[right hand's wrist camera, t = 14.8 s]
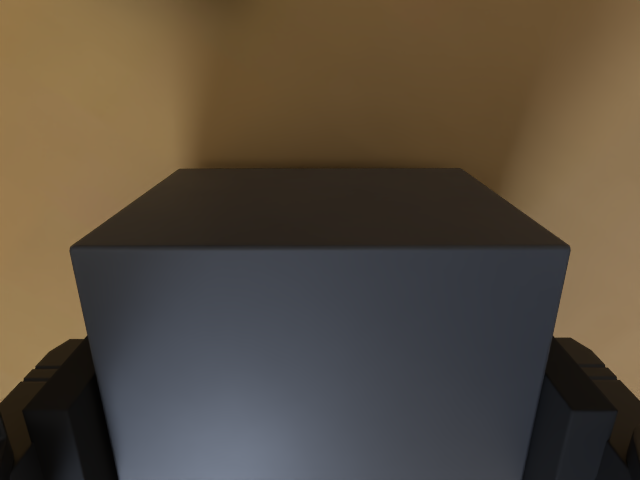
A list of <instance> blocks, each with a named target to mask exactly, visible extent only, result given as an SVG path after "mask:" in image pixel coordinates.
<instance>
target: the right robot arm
mask: <svg viewBox="0 0 640 480" xmlns="http://www.w3.org/2000/svg"><path fill="white" fill-rule="evenodd" d="M35 367H36V368H35V369H32V370H31V371H30V372H29V374H28V375H27V376H26V377H25V378H24V381H23V382H20V383H19V384H18V385H17V386H16V387H15V388H14V389H13V390H12V391H11V392H10V393H9V394H8V396H7V397H6V398H5V399H4V400H3V401H2V402H1V403H0V480H118V475H117V471H116V466H115V461H114V457H113V452H112V447H111V442H110V438H109V433H108V428H107V424H106V419H105V414H104V410H103V405H102V400H101V396H100V391H99V386H98V382H97V377H96V372H95V368H94V363H93V358H92V354H91V349H90V344H89V340H88V335H87V336H86V338H85V339H69V340H68V341H66V342H64V343H63V344H61V345H59V346H58V347H56V348H55V349H53V350H51V351H50V352H49V353H48V354H47V355H46V356H45V357H44V358H43V359H42V360H41V361H40V362H39V363H38V364H37V365H36V366H35ZM522 480H640V401H639V400H638V398H637V397H636V396H635V395H634V394H633V393H632V392H631V391H630V390H629V389H628V388H627V387H626V386H625V385H624V384H623V383H622V382H621V381H620V380H617V377H616V376H615V375H614V374H613V372H612V371H611V370H610V369H609V368H605V364H604V363H603V362H602V361H601V360H600V359H599V358H598V357H597V356H596V355H595V354H594V353H593V352H592V351H591V350H590V349H588V348H587V347H585V346H583V345H582V344H580V343H578V342H577V341H575V340H573V339H572V338H554V336H552V341H551V346H550V351H549V355H548V360H547V365H546V370H545V374H544V379H543V384H542V389H541V394H540V398H539V403H538V408H537V413H536V417H535V422H534V427H533V432H532V436H531V441H530V446H529V451H528V455H527V460H526V465H525V470H524V474H523V479H522Z"/></svg>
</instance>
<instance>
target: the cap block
mask: <svg viewBox="0 0 640 480" xmlns="http://www.w3.org/2000/svg"><path fill="white" fill-rule="evenodd" d="M570 251H571V250H570V246H569V245H568V244H566V243H565V242H564V241H562V240H561V239H559V238H558V237H557V236H555V235H554V234H552V233H551V232H550V231H548V230H547V229H545V228H544V227H543V226H541V225H540V224H538V223H537V222H536V221H534V220H533V219H531V218H530V217H529V216H527V215H526V214H524V213H523V212H521V211H520V210H519V209H517V208H516V207H514V206H513V205H512V204H510V203H509V202H507V201H506V200H505V199H503V198H502V197H500V196H499V195H498V194H496V193H495V192H493V191H492V190H491V189H489V188H488V187H486V186H485V185H484V184H482V183H481V182H479V181H478V180H477V179H475V178H474V177H472V176H471V175H470V174H468V173H467V172H465V171H464V170H463V169H460V168H363V169H178V170H177V171H175V172H174V173H173V174H171V175H170V176H168V177H167V178H166V179H164V180H163V181H162V182H160V183H159V184H157V185H156V186H155V187H153V188H152V189H150V190H149V191H148V192H146V193H145V194H143V195H142V196H141V197H139V198H138V199H136V200H135V201H134V202H132V203H131V204H129V205H128V206H127V207H125V208H124V209H122V210H121V211H120V212H118V213H117V214H115V215H114V216H113V217H111V218H110V219H108V220H107V221H106V222H104V223H103V224H101V225H100V226H99V227H97V228H96V229H94V230H93V231H92V232H90V233H89V234H87V235H86V236H85V237H83V238H82V239H80V240H79V241H78V242H76V243H75V244H73V245H72V246H71V247H70V256H71V260H72V265H73V270H74V274H75V279H76V284H77V288H78V293H79V298H80V302H81V307H82V312H83V316H84V321H85V326H86V330H87V335H88V340H89V344H90V349H91V354H92V358H93V363H94V368H95V372H96V377H97V382H98V386H99V391H100V396H101V400H102V405H103V410H104V414H105V419H106V424H107V428H108V433H109V438H110V442H111V447H112V452H113V457H114V461H115V466H116V471H117V475H118V480H522V479H523V474H524V470H525V465H526V460H527V455H528V451H529V446H530V441H531V436H532V432H533V427H534V422H535V417H536V413H537V408H538V403H539V398H540V394H541V389H542V384H543V379H544V374H545V370H546V365H547V360H548V355H549V351H550V346H551V341H552V336H553V332H554V327H555V322H556V317H557V313H558V308H559V303H560V298H561V294H562V289H563V284H564V279H565V275H566V270H567V265H568V260H569V255H570Z"/></svg>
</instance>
